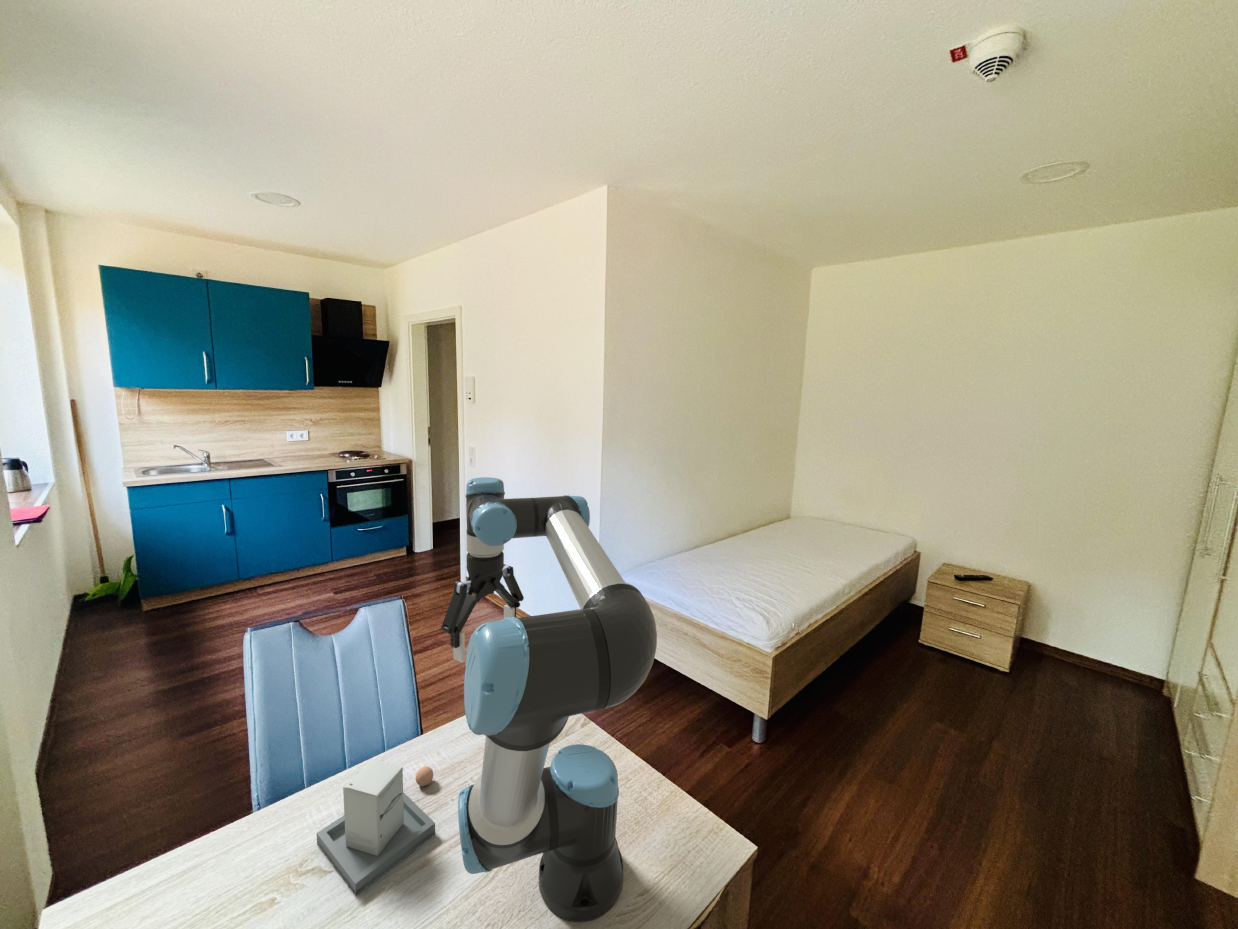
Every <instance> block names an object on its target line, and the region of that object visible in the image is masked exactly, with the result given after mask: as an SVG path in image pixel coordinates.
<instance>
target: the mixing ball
mask: <svg viewBox="0 0 1238 929" xmlns="http://www.w3.org/2000/svg"><path fill="white" fill-rule="evenodd" d="M433 778H434V771H433V769H432V768H431V767H430V766H428V765H427V766H423V767H420V768H418V770H417V771H416V774H415V782H416V784H417V785H419V786H420V787H424V786H427V785H429V784H430V783H431V782H432V780H433Z"/></svg>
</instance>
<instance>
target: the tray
mask: <svg viewBox="0 0 1238 929" xmlns="http://www.w3.org/2000/svg"><path fill="white" fill-rule="evenodd" d="M403 804H404V823H403V825H402V826H401V827H400V828H399V830H398V831H397V832H396V833H395V834H394V836H393V837H392V838H391V839H390V841H389V842H388V843H387V845H386V846H385V847H384V849H383V850H382V851H381V853H380V854H379V855H378V856H376V855H372V854H369V853H366V852H363V851H360V850H357V849H353V848H350V847H347V846H346V839H345V818H344V815H342V816H340V817H339V818H338V819H336V820H334V821H333V822H331V823H330V824H328V825H327V826H325V827H324V828H322V829H320V830H319V831H317V832H316V845H317V846H318V847H319V849H320V850H321V851H322V853H323V854H324V856H325V857H326V858H327V860H328V861H329V862H330V864H332V866H333V867H334V869H335V870H336V872H337V873H338V874H339V876H340V877H341V878H342V879H343V880H342V881H343V882H345V883H346V885H347V887H348V888H349V889H350V891H351V892H352V893H353V894H354V895H355V897H357V896H359V895H360V894H361V893H362V892H364V891H365V890H366V889H367V888H369V887H370V886H371V885H373V884H374V883H375V882H377V881H378V880H379V879H380V878H381V877H382V876H384V875H385V874H386V873H388V872H389V871H391V869H392V868H393V869H394V867H395V866H397V865H398V864H399V863H401V862H402V861H403V860H405V858H407V857H408V856H409V855H410V854H412V853H413V852H414V851H416V850H417V849H419V848H420V847H421V846H422V845H423V844H425V843H426V842H427V841H429V840H430V839H431V838H432V837H433V836H434V835H436V822H435V821H434V820H433V819H432V818H430V817H429V816H428V815H427V814H426V812H424V811H423V810H422V809H421V808H420V807H419V806H418V805H417V804H416V803H415V802H414V801H413V800H412V799H411V798H410V797H409V796H408V795H407V794H406V793H405V792H404V791H403Z"/></svg>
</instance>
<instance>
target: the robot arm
mask: <svg viewBox="0 0 1238 929" xmlns="http://www.w3.org/2000/svg"><path fill="white" fill-rule="evenodd" d="M504 484H505V483H504V480H502V479H500V478H497V477H491V476H490V477H487V476H485V477H475V478H471V479H469V480H468V481H467V483H466V491H465V494H464V496H465V502H466V503H465V505H466V506H465V510H466V514H465V515H466V536H465V537H466V552H467V554H466V570H467V574H468V578H467V580H466V581H459V580H456V581H455V583H454V588H453V593H452V597H451V600H450V602H449V604H448V608H447V610H446V613H445V616H444V619H443V622H442V624H441V627H440V630H441V631H443V632H445V633H446V634H449V635H450V636H449V637H450V638H449V639H450V642H449V643H450V646H451V647H452V649H453V650H452V651H453V652H452V654H453V655H452V657H453V659H454V660H455V661H457V662H459V663H464V662H465V664H464V665H465V670H464V671H465V672H464V677H463V700H464V702H463V703H464V714H465V718H466V723H467V726H468V729H469V730H470V731H471V732H472V733H473V735H476V736H482V735H483V736H484V737H485V740H484V748H483V749H484V750H483V761H482V768H481V774H479V776H478V778H477V779H476V780H475V782H474V783H473V784H471V785H469V786H467V787H464V788H462V789H461V790H460V791H459V793H458V799H457V814H458V815H457V816H458V829H459V841H460V846H461V856H462V862H463V867H464V869H465V870H466V872H467V873H468V874H470V875H476V874H479V873H480V874H481V873H490V872H492V871H493V870H494V869H498V868H501V867H503V866H506V865H507V866H508V865H509V864H513V863H515V862H519V861H522V860H526V859H528V858H531V857H533V856H537V855H540V854H541V858H540V861H539V868H538V888H539V893H540V896H541V898H542V900H543V902H544V904H545V905H546V907H547V908H548V909H549V910H550V911H551V912H552V913H553V914H555V915H556V916H558V917H559V918H562V919H563V920H567V921H572V922H588V921H593V920H595V919H597V918H600V917H602V916H603V915H605V914H606V913H607V912H608V911H610V910H611V909H612V908H613V906H614V905H615V904H616V902H617V901H618V899H619V897H620V895H621V893H622V889H623V886H624V871H625V869H624V868H625V866H624V860H623V856H622V853H621V851H620V848H619V844H618V840H617V838H616V835H617V833H616V830H617V819H618V818H617V817H618V816H617V815H618V802H619V801H618V798H619V795H620V788H619V776H618V775H619V774H618V770H617V767H616V765H615V762H614V761H613V760H612V758H611V757H610V755H608V754H607V753H606V752H604V751H603V750H601V749H599V748H597V747H596V746H591V745H590V744H589V745H588V744H582V743H581V744H580V743H579V744H578V743H577V744H571V745H567V746H564V747H562V748H561V749H558V752H557V753H556V754H555V755H553V758H552V760H551V762H550V766H546V767H545V765H546V759H547V756H548V751H549V748H550V744H551V743H553V741H555V740H556V739H557V738H559V736H560V734H561V733H562V732H563V730H564V729H565V727H566V725H567V723H568V720H569V718H570V717H571V716H577V715H582V714H585V713H589V712H594V711H599V710H605V709H610V708H612V707H616V706H618V705H620V704H622V703H623V702H625V701H627V700H629V698H630V697H632V696H633V695H634V694H635V693H636V692H637V691H638V689H640V687H641V686H642V685H643V684H644V682H645V680H646V679H647V677H648V675H649V673H650V671H651V669H652V666H653V665H654V660H655V657H656V654H657V653H656V652H657V647H658V646H657V642H658V640H657V639H658V633H657V632H658V631H657V624H656V621H655V620H656V619H655V617H654V614H653V611H652V609H651V606H650V604H649V603H648V601H647V600H646V598H645V597H644V595H643V593H642V592H641V591H640V589H638V588H637V587H636V586H635V585H633V584H630V583H628V582H625V580H624V579H623V577H622V575H621V573H619V571H618V570H617V568H616V566H615V564H613V562H612V561H611V559H610V558H609V556H608V555H607V553H606V551H605V550H604V549H603V547H602V545H601V544H600V542H599V541H598V540H597V538H596V537H595V535H594V534H593V532H592V531H591V529H590V527H589V526H590V521H591V514H590V513H591V512H590V507H589V504H588V501H587V500H586V499H585V498H584V496H581V495H569V494H568V495H561V496H560V495H559V496H558V495H557V496H543V497H542V496H541V497H520V498H519V497H517V498H516V497H515V498H505V494H506V491H505V485H504ZM533 537H535V538H537V537H546V538H547V540H548V542H549V544H550V547H551V548H552V551H553V552H554V555H555V557H556V559H557V562H558V564H559V566H560V568H561V570H562V572H563V574H564V576H565V578H566V580H567V584H569V588H570V589H571V592H572V594H573V595H574V598H575V600H576V601H577V604H578V606H579V609H573V610H565V611H560V612H559V611H558V612H552V613H544V614H539V615H530V616H524V617H517V608H520V607H521V602H523V601H524V599H525V597H524V594H523V592H522V590H521V588H520V585H519V584H518V581H517V579H516V577H515V574H514V567H513V566H511V565H508V564H504V563H505V562H504V560H505V558H504V557H505V555H504V552H503V551H504V550H505V549H504V548H505V544H507V543H508V542H510V541H511V540H512V539H520V538H521V539H523V538H533ZM502 579H503V580H504V582H505V584H506V586H507V589H506V588H505V587H506V586H504V584H503V583H502V582H501V581H502ZM508 590H509V591H508ZM495 593H497V595H498V596H499V597H500V598H501V599H502V600H503V602H505V603H506V604H505V605H503V618H502V619H501V620H494V621H489V622H484V623H482V624H480V625H479V626H477V627H476V629H474V631H473V633H472V634H471V635H470V638H469V641H468V645H467V648H465V644H466V632H465V631H464V630H463V628H464V626H465V625H466V623H467V621H468V620H469V617H470V616H471V614H472V612H473V610H474V608H475V606H477V603H479V602H480V601H481V599H482V598H485V597H487V596H488V595H492V594H495ZM465 652H466V653H465Z"/></svg>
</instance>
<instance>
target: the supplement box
mask: <svg viewBox="0 0 1238 929" xmlns="http://www.w3.org/2000/svg"><path fill="white" fill-rule="evenodd" d="M403 772H404V767H403V766H400V765H397V764H393V763H389V762H385V761H381V760H378V759H377V760H376V759H373V758H372V759H370V760H369V761H368V762H367V763H366V764H365V765H364V766H363V767H362V768H361V769H360V770H359V771H358V772H357V773H356V774H355V775H354V776H353V777H352V778H351V779H350V780H349V781H348V783H346V784H345V785H344V786H343V788H342V790H343V816H344V818H345V839H346V846H347V847H350V848H353V849H357V850H360V851H363V852H366V853H369V854H372V855H376V856H378V855H379V854H380V853H381V851H382V850H383V849H384V847H385V846H386V845H387V843H388V842H389V841H390V839H391V838H392V837H393V836H394V834H395V833H396V832H397V831H398V830H399V828H400V827H401V826H402V825H403V823H404V804H403V792H404V773H403Z"/></svg>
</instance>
